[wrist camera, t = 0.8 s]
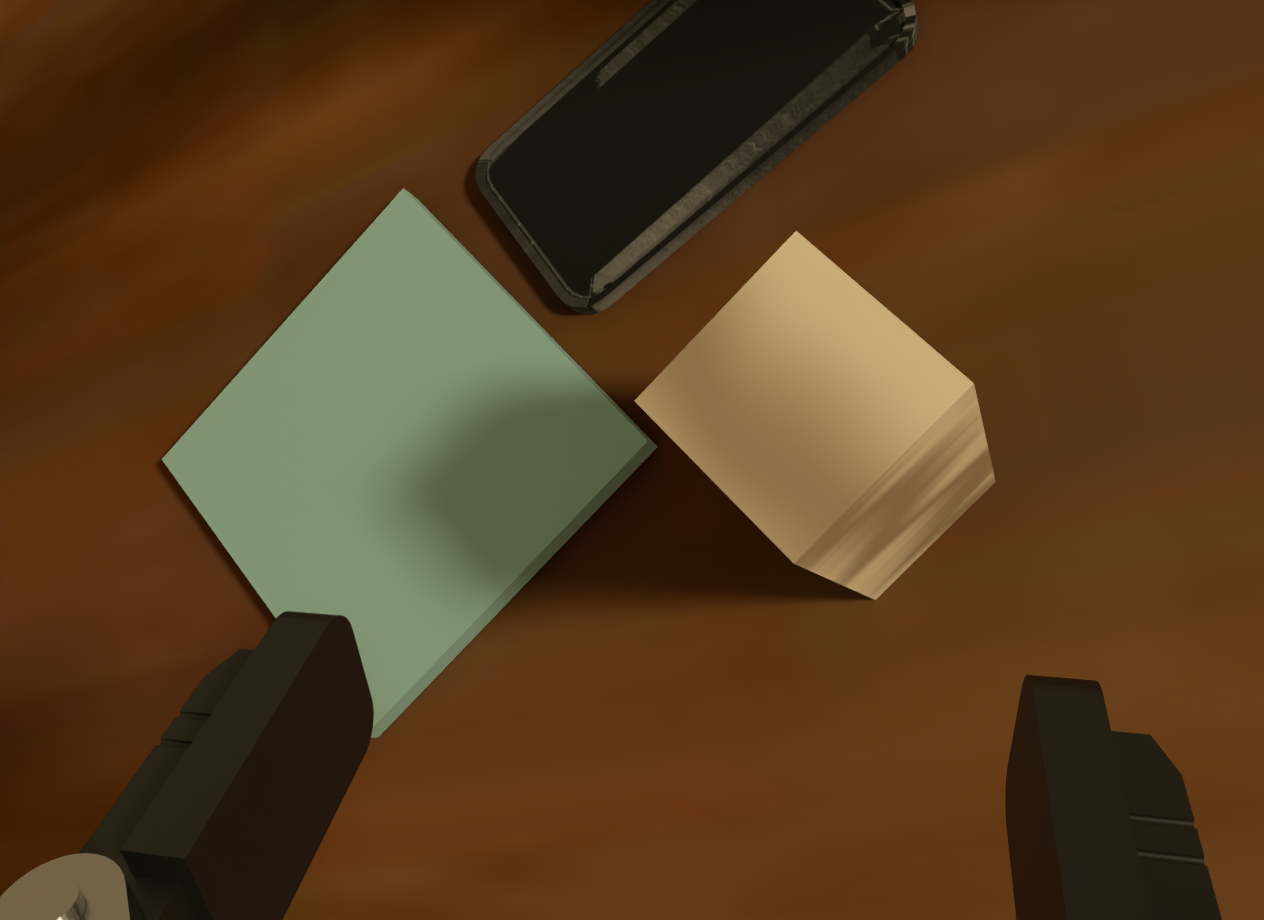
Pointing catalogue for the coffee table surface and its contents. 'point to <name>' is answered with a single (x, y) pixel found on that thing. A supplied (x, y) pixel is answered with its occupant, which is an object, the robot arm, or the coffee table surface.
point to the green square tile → (404, 453)
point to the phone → (677, 129)
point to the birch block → (826, 421)
